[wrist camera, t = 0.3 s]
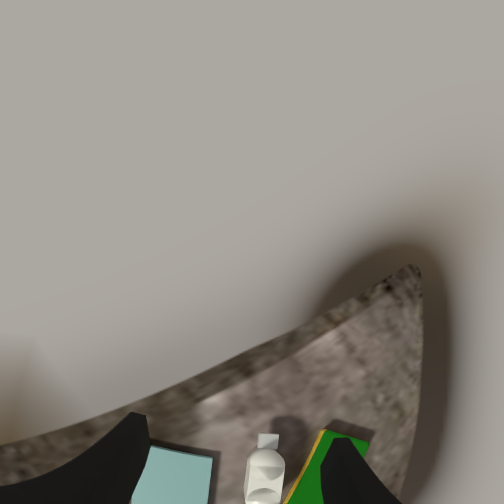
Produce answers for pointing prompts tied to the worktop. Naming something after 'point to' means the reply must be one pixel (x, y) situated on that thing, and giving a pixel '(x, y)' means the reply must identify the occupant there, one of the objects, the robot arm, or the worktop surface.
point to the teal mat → (173, 478)
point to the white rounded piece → (264, 472)
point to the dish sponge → (317, 469)
